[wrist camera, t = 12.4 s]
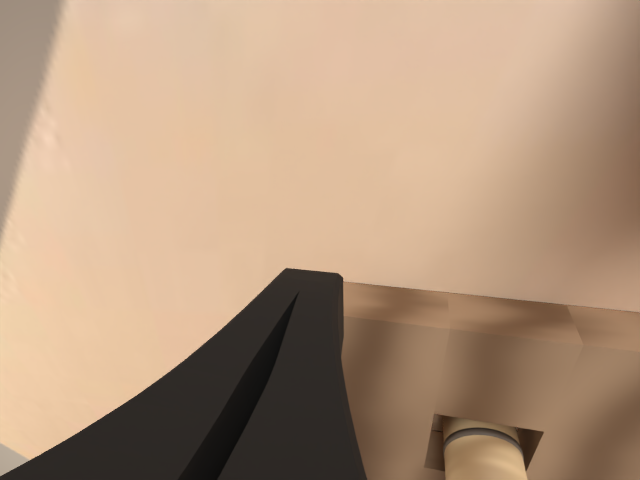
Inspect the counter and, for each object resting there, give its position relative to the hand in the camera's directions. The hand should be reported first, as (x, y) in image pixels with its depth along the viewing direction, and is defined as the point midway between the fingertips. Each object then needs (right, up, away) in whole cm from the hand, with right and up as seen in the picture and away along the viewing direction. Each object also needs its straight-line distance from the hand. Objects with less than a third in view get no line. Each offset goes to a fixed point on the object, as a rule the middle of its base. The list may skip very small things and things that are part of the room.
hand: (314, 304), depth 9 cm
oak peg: (+10, -9, +15) cm, 20 cm away
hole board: (+9, -9, +15) cm, 20 cm away
